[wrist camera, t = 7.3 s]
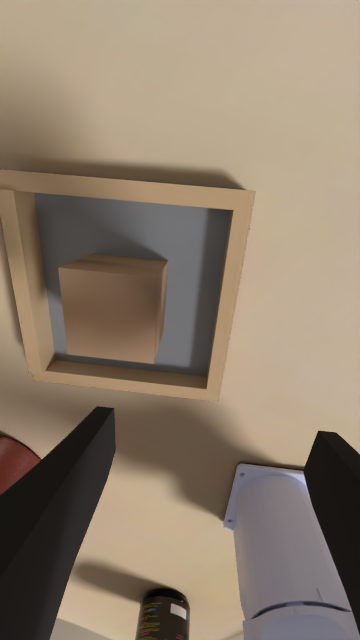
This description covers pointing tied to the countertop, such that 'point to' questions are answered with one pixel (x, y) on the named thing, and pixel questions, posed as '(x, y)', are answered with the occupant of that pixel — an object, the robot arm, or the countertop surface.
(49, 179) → the slate tray
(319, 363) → the countertop surface
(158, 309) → the walnut block
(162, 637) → the supplement container
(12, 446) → the flower pot
